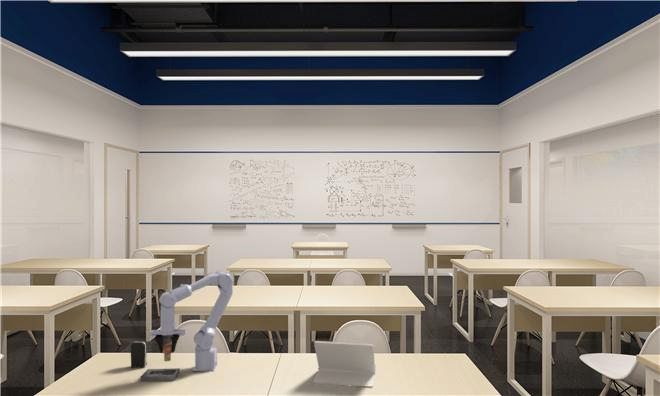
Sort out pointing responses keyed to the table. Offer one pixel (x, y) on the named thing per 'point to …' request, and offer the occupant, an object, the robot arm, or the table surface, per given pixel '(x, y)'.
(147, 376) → the keyhole plate
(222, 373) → the table surface
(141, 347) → the battery charger
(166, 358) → the peg
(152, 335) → the robot arm
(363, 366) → the tablet stand
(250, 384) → the table surface
